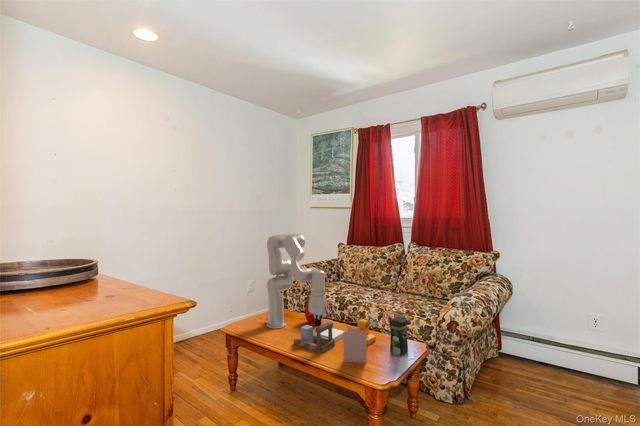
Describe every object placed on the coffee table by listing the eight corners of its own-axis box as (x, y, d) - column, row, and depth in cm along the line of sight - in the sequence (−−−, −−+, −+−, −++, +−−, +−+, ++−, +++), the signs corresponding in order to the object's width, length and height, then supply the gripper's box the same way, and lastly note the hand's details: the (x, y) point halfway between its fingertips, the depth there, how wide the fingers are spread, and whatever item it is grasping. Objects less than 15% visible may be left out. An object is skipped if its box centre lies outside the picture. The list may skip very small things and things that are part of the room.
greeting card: (367, 361, 158) (367, 331, 158) (359, 367, 153) (358, 336, 152) (349, 355, 166) (348, 326, 165) (340, 360, 160) (339, 330, 160)
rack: (293, 344, 180) (293, 338, 180) (307, 337, 190) (307, 332, 190) (321, 353, 168) (321, 347, 168) (334, 345, 177) (334, 340, 177)
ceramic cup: (298, 327, 206) (298, 311, 206) (309, 318, 222) (308, 304, 221) (317, 329, 201) (317, 313, 201) (326, 320, 217) (326, 306, 217)
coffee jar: (396, 347, 174) (395, 313, 174) (410, 351, 169) (409, 316, 169) (387, 353, 167) (387, 318, 166) (401, 358, 162) (401, 321, 161)
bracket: (364, 346, 176) (364, 324, 176) (354, 342, 181) (354, 321, 181) (376, 340, 183) (376, 319, 183) (366, 337, 189) (366, 316, 188)
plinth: (317, 337, 189) (316, 333, 189) (329, 331, 198) (328, 327, 198) (333, 342, 181) (333, 338, 181) (345, 335, 191) (345, 331, 191)
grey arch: (315, 345, 170) (315, 328, 170) (328, 338, 180) (328, 321, 180) (320, 346, 168) (319, 329, 168) (333, 339, 178) (333, 322, 178)
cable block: (300, 343, 181) (300, 327, 181) (306, 340, 185) (306, 324, 185) (307, 345, 178) (307, 329, 178) (313, 342, 182) (313, 326, 182)
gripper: (303, 292, 178) (303, 324, 178) (324, 296, 169) (324, 331, 169) (312, 289, 184) (312, 320, 184) (333, 293, 175) (333, 326, 175)
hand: (318, 325), depth 177 cm, fingers closed
